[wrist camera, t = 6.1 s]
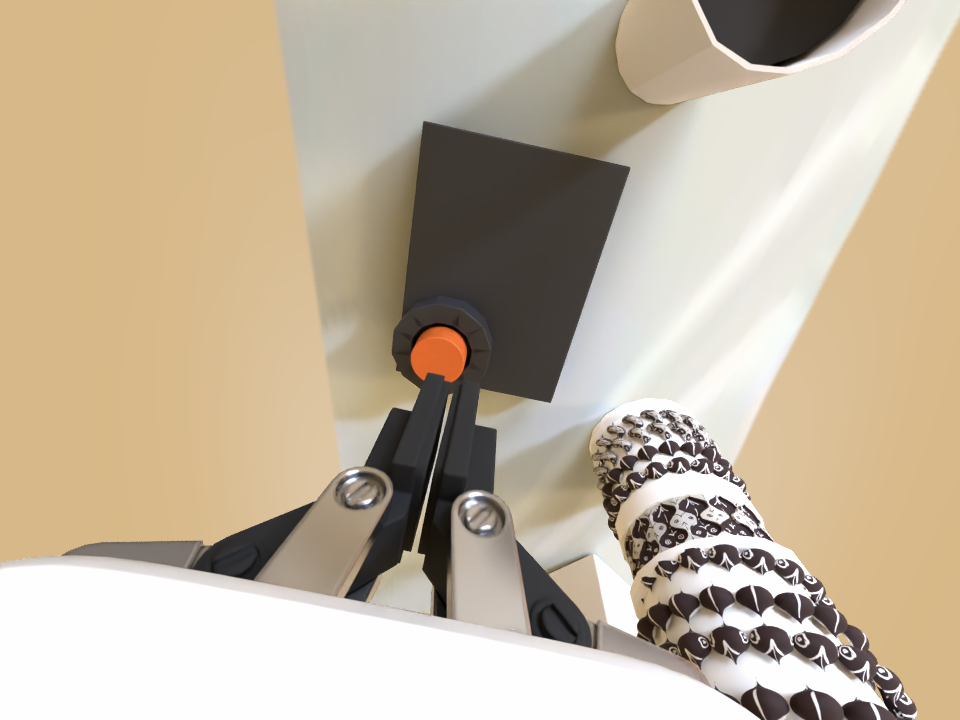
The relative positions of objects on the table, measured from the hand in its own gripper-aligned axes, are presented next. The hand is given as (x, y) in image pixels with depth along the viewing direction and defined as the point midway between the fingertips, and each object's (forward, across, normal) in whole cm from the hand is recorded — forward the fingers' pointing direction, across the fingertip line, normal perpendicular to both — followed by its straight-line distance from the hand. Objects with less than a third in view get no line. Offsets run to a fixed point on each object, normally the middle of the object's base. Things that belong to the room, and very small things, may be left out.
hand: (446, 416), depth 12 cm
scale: (+15, -1, -1) cm, 15 cm away
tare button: (+12, +1, +4) cm, 12 cm away
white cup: (+15, -7, -14) cm, 22 cm away
